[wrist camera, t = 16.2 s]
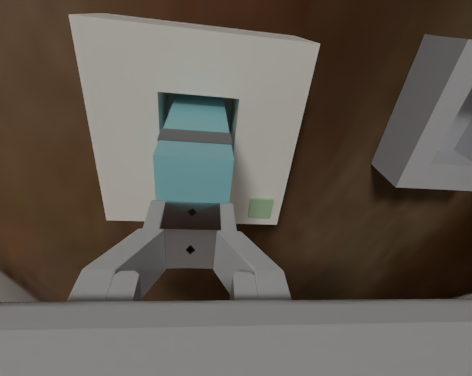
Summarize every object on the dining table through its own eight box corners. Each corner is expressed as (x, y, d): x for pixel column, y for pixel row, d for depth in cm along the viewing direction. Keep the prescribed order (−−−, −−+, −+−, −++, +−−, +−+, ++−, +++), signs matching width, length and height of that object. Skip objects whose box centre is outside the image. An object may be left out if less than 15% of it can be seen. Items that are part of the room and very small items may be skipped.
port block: (103, 13, 17) (66, 14, 12) (294, 35, 18) (321, 44, 14) (124, 182, 23) (105, 222, 19) (265, 188, 25) (277, 226, 20)
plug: (177, 88, 18) (151, 153, 10) (223, 92, 19) (235, 158, 10) (177, 149, 21) (157, 243, 12) (218, 152, 21) (225, 245, 13)
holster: (424, 34, 19) (468, 39, 16) (524, 47, 20) (584, 54, 17) (371, 163, 24) (395, 187, 21) (452, 168, 25) (487, 191, 22)
